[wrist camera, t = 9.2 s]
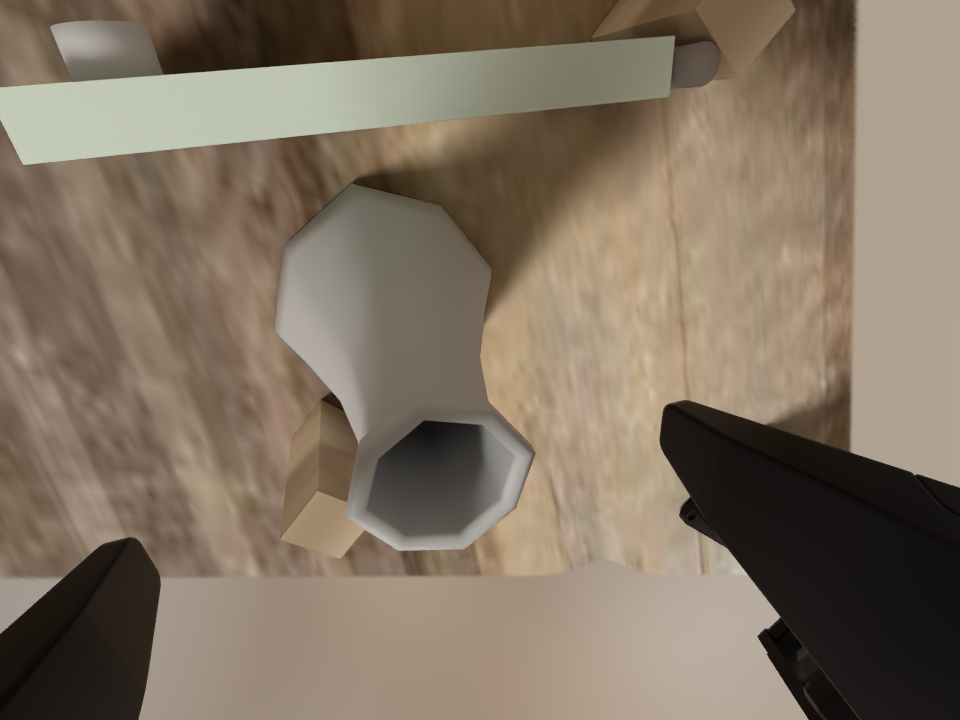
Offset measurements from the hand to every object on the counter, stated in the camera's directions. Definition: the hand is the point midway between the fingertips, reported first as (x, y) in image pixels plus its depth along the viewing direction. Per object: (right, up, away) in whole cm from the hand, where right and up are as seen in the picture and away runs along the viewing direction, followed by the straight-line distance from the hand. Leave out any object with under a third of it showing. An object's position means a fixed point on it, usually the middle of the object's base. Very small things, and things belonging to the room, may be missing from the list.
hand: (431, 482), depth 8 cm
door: (-2, +10, +5) cm, 11 cm away
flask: (-2, +4, +9) cm, 10 cm away
